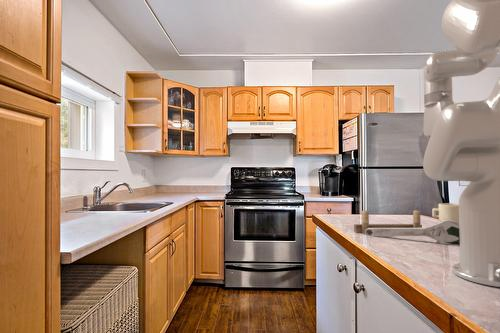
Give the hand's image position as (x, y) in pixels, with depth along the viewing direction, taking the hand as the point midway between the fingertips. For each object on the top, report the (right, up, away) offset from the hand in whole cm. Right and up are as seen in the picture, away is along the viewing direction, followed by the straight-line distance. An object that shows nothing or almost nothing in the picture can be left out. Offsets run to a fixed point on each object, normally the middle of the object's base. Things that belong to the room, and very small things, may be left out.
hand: (439, 157), depth 87 cm
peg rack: (-5, -30, +21) cm, 37 cm away
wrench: (-4, -30, +10) cm, 31 cm away
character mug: (+9, -29, +7) cm, 31 cm away
